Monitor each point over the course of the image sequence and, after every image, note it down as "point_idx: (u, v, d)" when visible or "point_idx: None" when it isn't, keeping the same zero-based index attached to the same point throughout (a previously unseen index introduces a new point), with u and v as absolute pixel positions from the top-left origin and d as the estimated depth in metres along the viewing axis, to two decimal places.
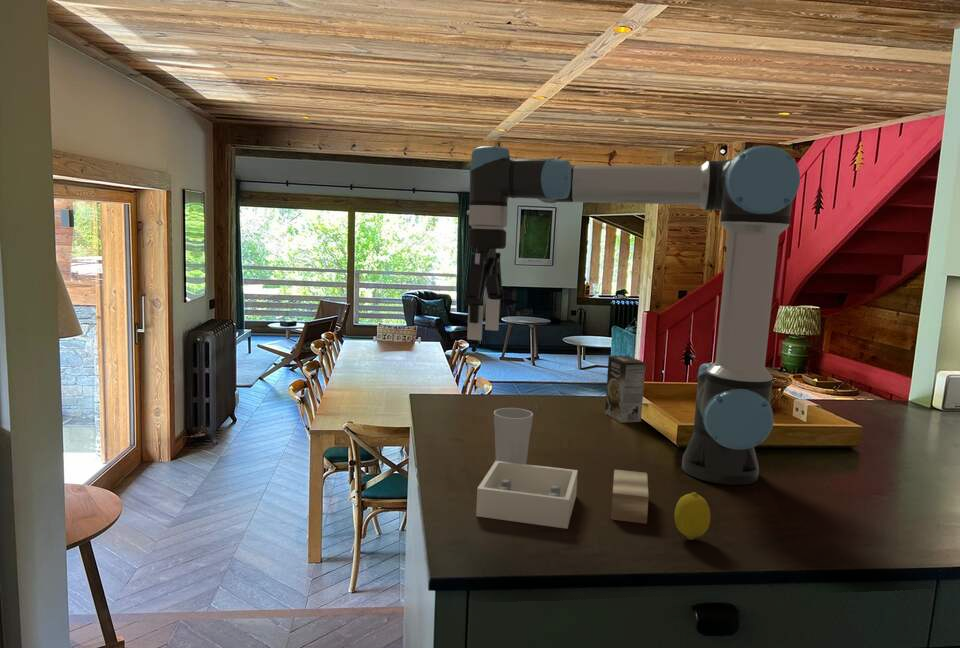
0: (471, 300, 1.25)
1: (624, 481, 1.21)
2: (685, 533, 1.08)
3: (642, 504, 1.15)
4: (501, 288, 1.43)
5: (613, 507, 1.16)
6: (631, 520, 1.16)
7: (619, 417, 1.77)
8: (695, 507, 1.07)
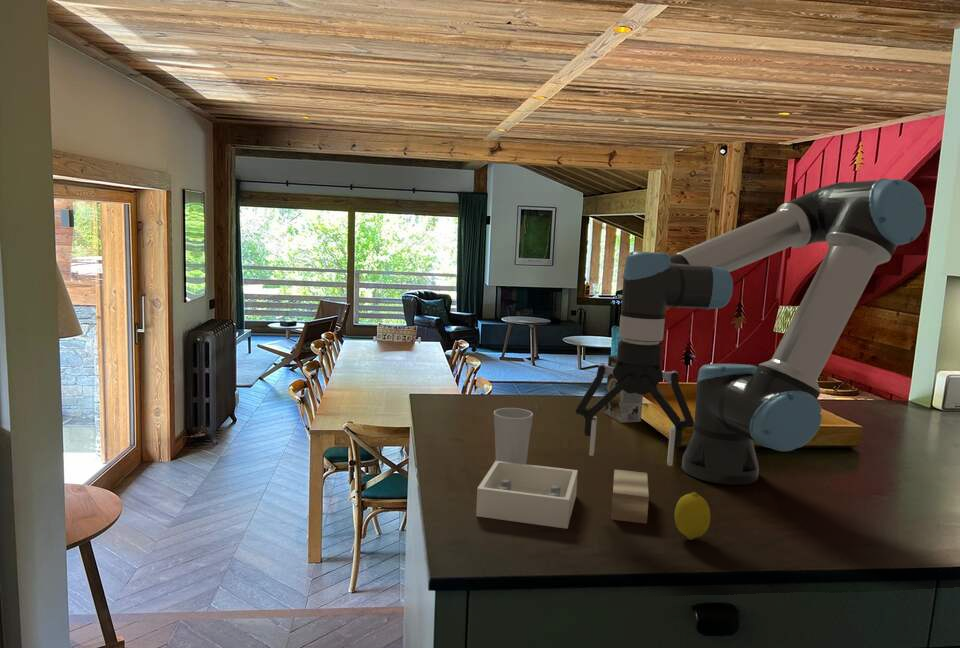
0: None
1: (624, 481, 1.21)
2: (685, 533, 1.08)
3: (642, 504, 1.15)
4: (688, 418, 1.16)
5: (613, 507, 1.16)
6: (631, 520, 1.16)
7: (619, 417, 1.77)
8: (695, 507, 1.07)
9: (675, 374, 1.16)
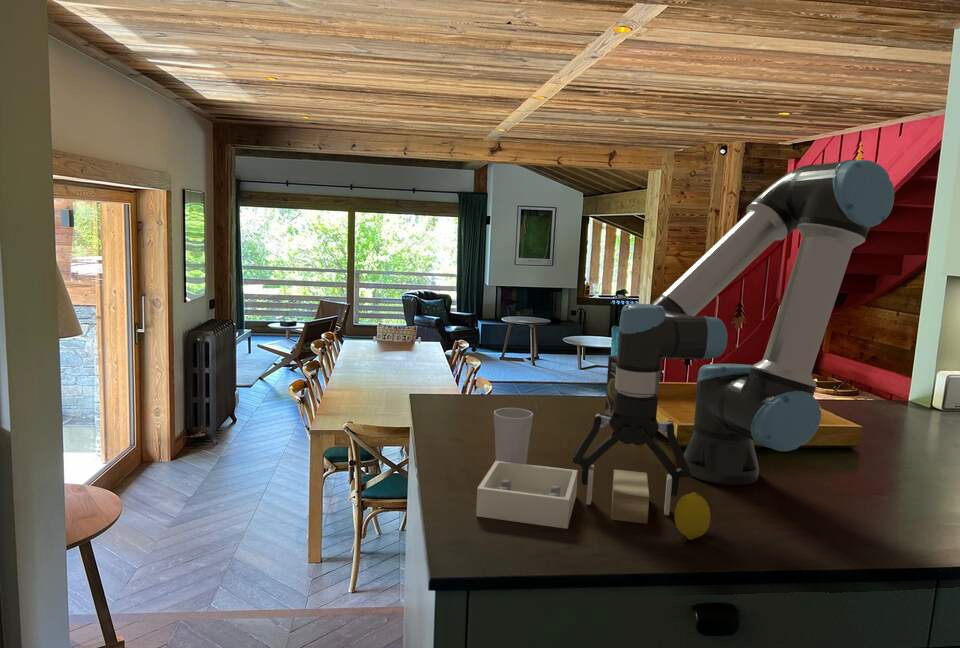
0: None
1: (624, 481, 1.21)
2: (685, 533, 1.08)
3: (643, 504, 1.15)
4: (685, 469, 1.17)
5: (614, 507, 1.16)
6: (632, 520, 1.16)
7: None
8: (695, 507, 1.07)
9: (671, 425, 1.17)
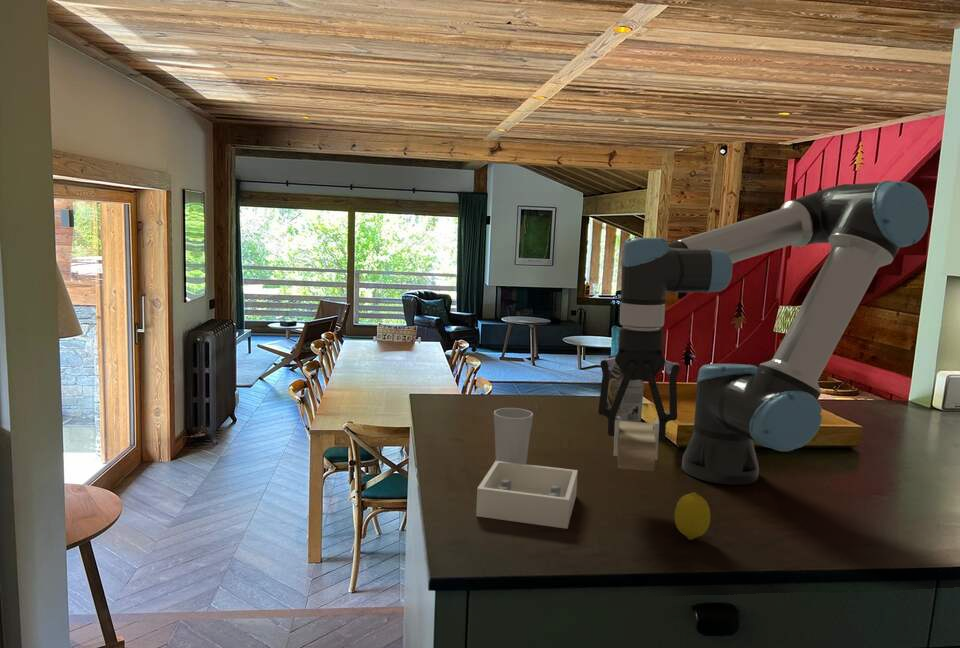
0: None
1: (630, 430, 1.20)
2: (685, 533, 1.08)
3: (649, 450, 1.14)
4: (673, 412, 1.17)
5: (620, 454, 1.15)
6: (638, 467, 1.15)
7: None
8: (695, 507, 1.07)
9: (677, 366, 1.16)
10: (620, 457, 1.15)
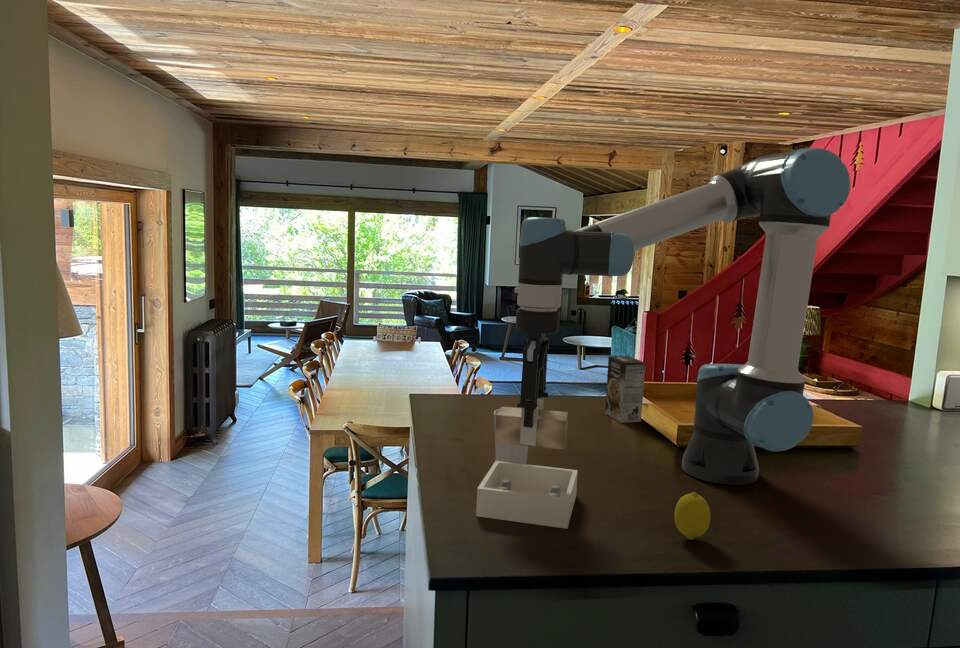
0: (527, 405, 1.12)
1: None
2: (685, 533, 1.08)
3: (567, 421, 1.20)
4: (545, 383, 1.24)
5: (565, 435, 1.15)
6: None
7: (619, 417, 1.77)
8: (695, 507, 1.07)
9: (548, 340, 1.23)
10: (564, 438, 1.15)
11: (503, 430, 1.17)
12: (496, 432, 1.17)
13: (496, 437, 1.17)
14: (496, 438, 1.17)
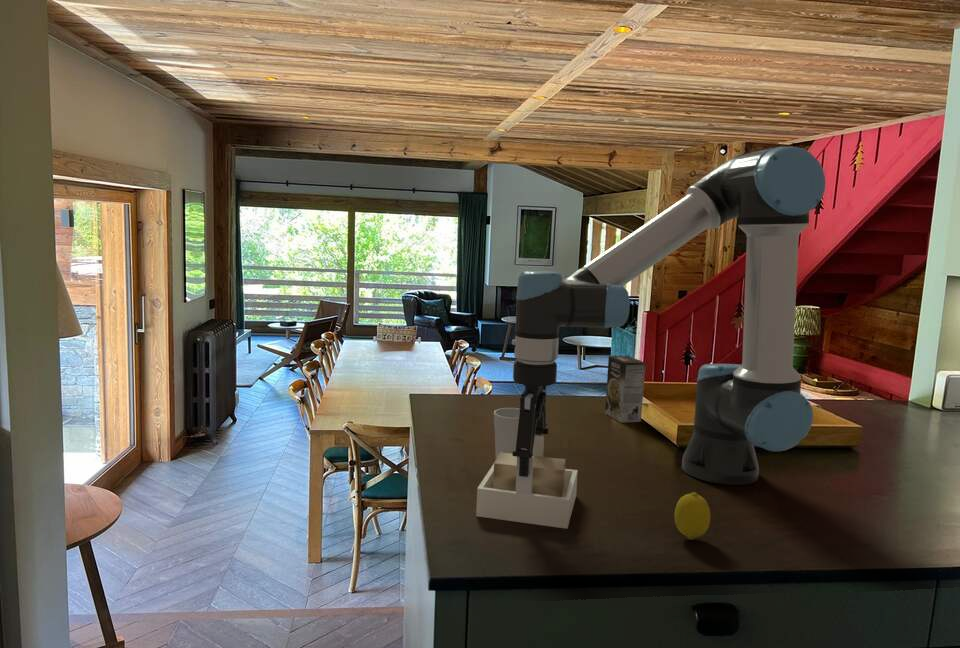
0: (522, 454, 1.10)
1: None
2: (685, 533, 1.08)
3: None
4: (545, 420, 1.27)
5: (562, 484, 1.16)
6: None
7: (619, 417, 1.77)
8: (695, 507, 1.07)
9: None
10: (562, 487, 1.17)
11: (501, 479, 1.18)
12: (494, 480, 1.18)
13: (494, 485, 1.19)
14: (494, 486, 1.19)
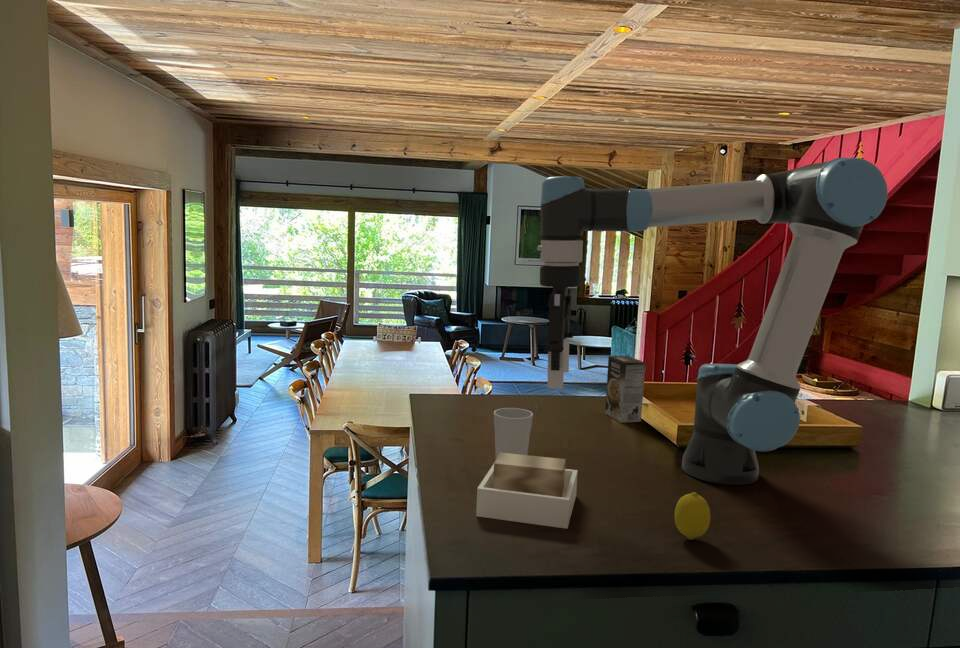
0: (554, 346, 1.14)
1: (529, 463, 1.19)
2: (685, 533, 1.08)
3: None
4: (569, 326, 1.32)
5: (562, 484, 1.16)
6: None
7: (619, 417, 1.77)
8: (695, 507, 1.07)
9: (569, 289, 1.29)
10: (562, 487, 1.17)
11: (501, 479, 1.18)
12: (494, 480, 1.18)
13: (494, 485, 1.19)
14: (494, 486, 1.19)
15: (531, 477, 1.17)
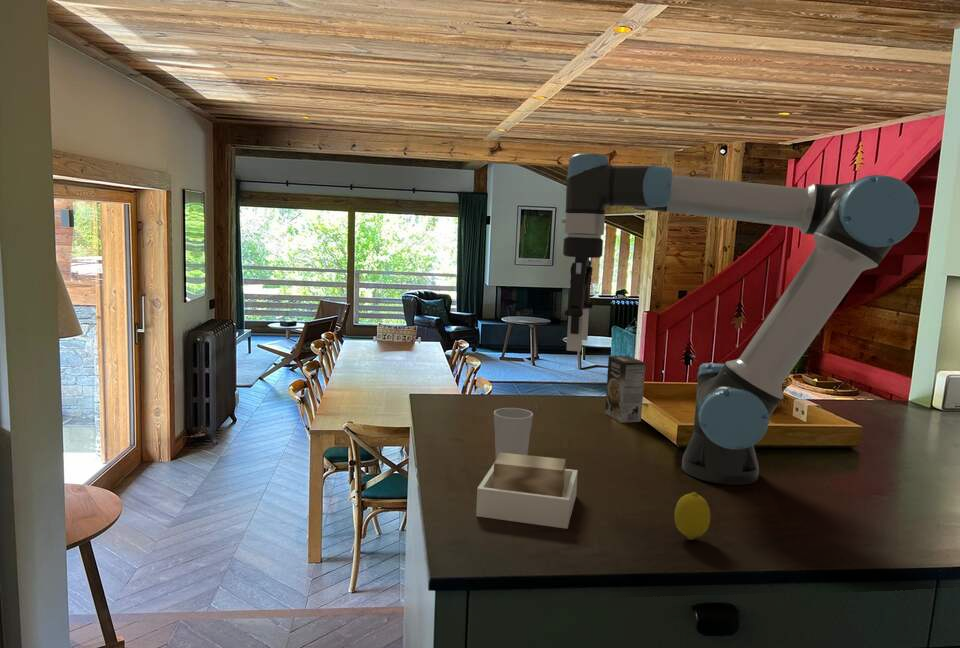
0: (574, 311, 1.23)
1: (529, 463, 1.19)
2: (685, 533, 1.08)
3: None
4: (589, 297, 1.41)
5: (562, 484, 1.16)
6: None
7: (619, 417, 1.77)
8: (695, 507, 1.07)
9: (590, 262, 1.37)
10: (562, 487, 1.17)
11: (501, 479, 1.18)
12: (494, 480, 1.18)
13: (494, 485, 1.19)
14: (494, 486, 1.19)
15: (531, 477, 1.17)
